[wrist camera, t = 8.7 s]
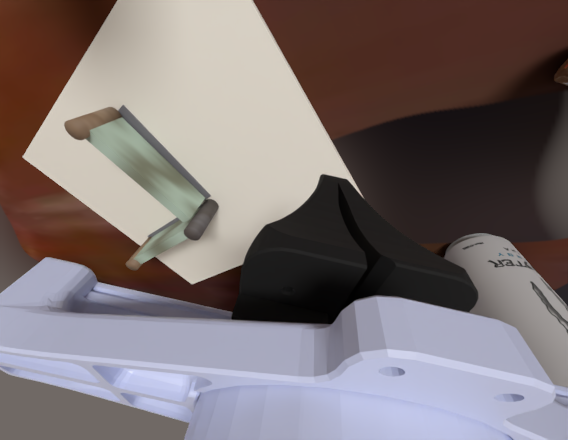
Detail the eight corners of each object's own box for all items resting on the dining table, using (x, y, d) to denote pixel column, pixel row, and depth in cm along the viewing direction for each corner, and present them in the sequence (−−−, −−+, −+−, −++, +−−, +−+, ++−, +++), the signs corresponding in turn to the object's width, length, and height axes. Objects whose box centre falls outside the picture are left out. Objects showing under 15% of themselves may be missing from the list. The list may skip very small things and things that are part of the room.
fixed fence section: (211, 196, 24) (191, 225, 20) (221, 207, 25) (204, 236, 21) (145, 237, 30) (120, 266, 26) (155, 245, 30) (132, 274, 27)
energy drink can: (522, 242, 23) (724, 453, 11) (470, 275, 27) (581, 458, 15) (474, 220, 22) (638, 422, 11) (426, 257, 26) (510, 436, 14)
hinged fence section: (206, 197, 24) (188, 221, 21) (198, 202, 24) (179, 227, 21) (110, 103, 19) (68, 116, 16) (102, 113, 20) (61, 127, 17)
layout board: (370, 210, 23) (371, 213, 23) (193, 281, 35) (191, 284, 35) (191, -110, 12) (185, -116, 12) (27, 155, 25) (21, 157, 24)
